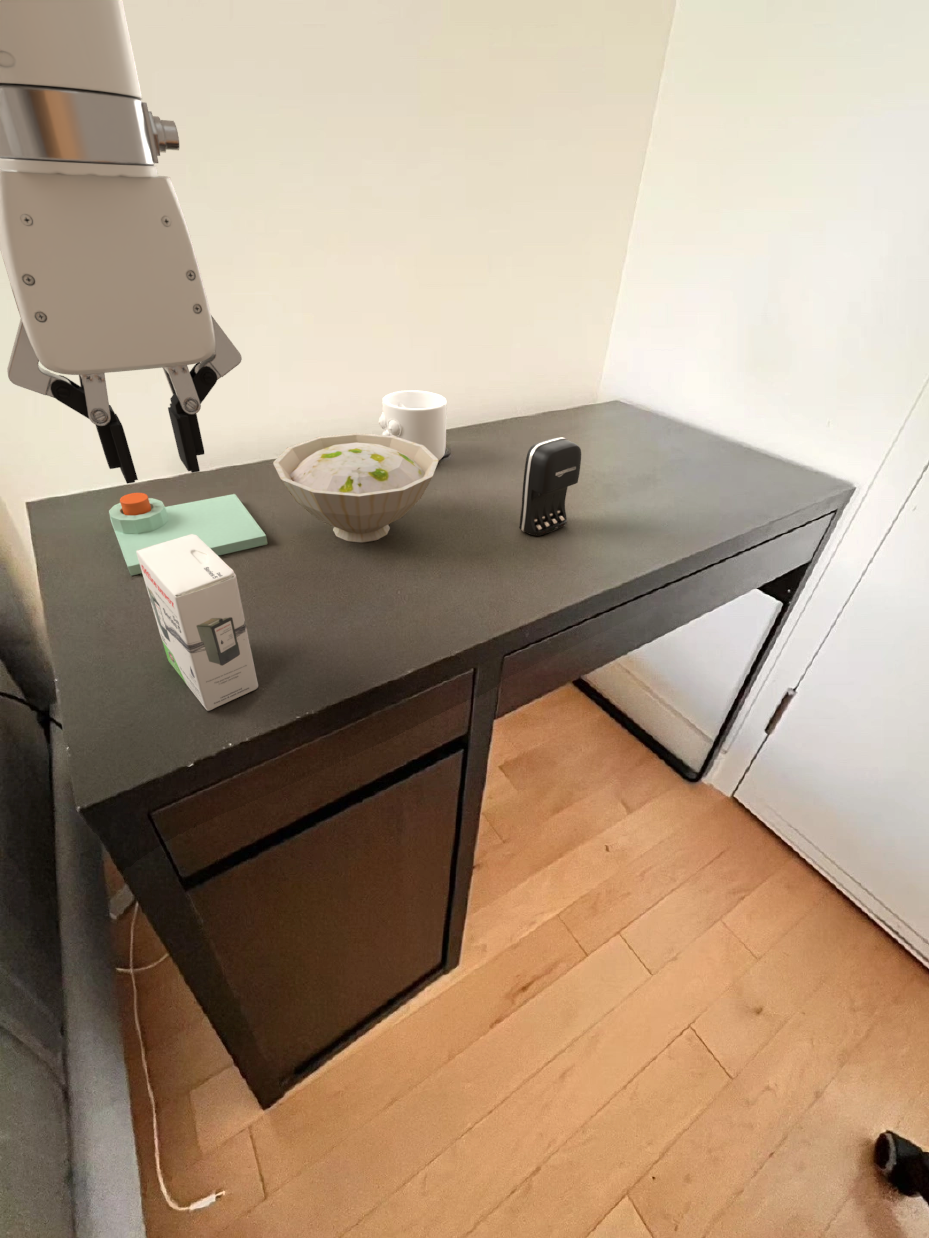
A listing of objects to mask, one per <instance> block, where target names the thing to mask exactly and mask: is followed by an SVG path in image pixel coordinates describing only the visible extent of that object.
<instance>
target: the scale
mask: <svg viewBox="0 0 929 1238" xmlns="http://www.w3.org/2000/svg"><path fill="white" fill-rule="evenodd" d="M148 499H149V502H150V506H151V511H150V512H147V513H145V514H141V515H135V516H134V515H125V514H124V513H123V509H122V506H121V503H120V502H119V503H117V504H114V505H113V506H112V507H111V508H110V509H109V510H108V515H109V519H110V522H111V525H112V528H113V531H114V534H115V536H116V539H117V542H118V546H119V548H120V551H121V553H122V557H123V559H124V560H125V564H126V567H127V570H128V573H129V575H130V576H131V577H132V576H137V575H141V574H142V570H141V567H140V564H139V560H138V557H137V553H136V551H137V550H139V549H143V548H146V547H149V546H152V545H156V544H159V543H163V542H166V541H170V540H173V539H177V538H180V537H183V536H187V535H190V534H193V535H197V536H198V537H199V538H200V539H201V540H202V541H203V542H204V543H205V544H206V545H207V546H208V547H209V548H210V549H212V551H214V552H215V553H216V554H217V555H218V556H219V557H220V556H222V555H227V554H231V553H236V552H240V551H244V550H249V549H253V548H258V547H261V546H266V545H268V538H267V535H266V534H265V532H264V531H263V529H262V528H261V527H260V525H259V524H258V523H257V521H256V520H255V518H254V517H253V516H252V515H251V513H250V512H249V511H248V509H247V507H246V506H245V505H244V504H243V503H242V501H241V500H240V499H239V497H238V496H237V494H236V493H233V494H226V495H222V496H216V497H211V498H206V499H201V500H200V499H199V500H195V501H188V502H185V503H178V504H174V505H168V506H165V504H164V502H163V501H162V500H159V499H157V498H154V497H153V498H152V497H148Z"/></svg>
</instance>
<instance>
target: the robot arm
mask: <svg viewBox="0 0 929 1238" xmlns="http://www.w3.org/2000/svg"><path fill="white" fill-rule="evenodd" d="M142 100H143V95H142V90H141V84H140V80H139V74H138V68H137V64H136V59H135V55H134V48H133V44H132V40H131V34H130V30H129V24H128V20H127V15H126V10H125V5H124V0H0V253H1V257H2V260H3V263H4V268H5V270H6V274H7V277H8V281H9V285H10V288H11V291H12V295H13V299H14V301H15V305H16V308H17V311H18V314H19V317H20V320H19V324H18V328H17V330H16V335H15V338H14V342H13V347H12V350H11V354H10V356H9V357H10V358H9V360H8V364H7V371H6V372H7V377H8V380H9V381H10V382H11V383H12V384H13V385H15V386H17V387H20V388H23V389H25V390H29V391H32V392H35V393H37V394H40V395H43V396H47V397H50V398H54V399H56V400H57V401H58V402H60V403H61V404H63V405H65V406H66V407H68V408H70V409H72V410H73V411H75V412H76V413H78V414H80V415H82V416H83V417H85V418H86V419H88V420H89V421H90V422H91V423H92V424H93V425H95V428H96V432H97V435H98V437H99V441H100V444H101V447H102V451H103V453H104V457H105V460H106V463H107V465H108V468H109V470H113V469H120V472H121V473H122V477H123V478H124V481H125V482H126V484H127V485H128V484H133V483H136V481H138V480H139V479H138V475H137V472H136V468H135V465H134V461H133V458H132V454H131V450H130V446H129V443H128V440H127V437H126V433H125V430H124V427H123V424H122V422H121V420H120V418H119V416H118V415H117V413H115V411H114V409H113V407H112V405H110V403H109V402H110V401H109V395H108V388H107V381H106V375H105V374H106V373H107V374H109V373H117V372H118V373H121V372H130V371H140V370H141V371H142V370H151V369H162V370H163V373H164V375H165V378H166V381H167V384H168V386H169V389H170V391H171V394H172V396H171V397H170V398H169V400H170V403H169V407H167V411H168V415H169V419H170V424H171V428H172V431H173V436H174V440H175V445H176V449H177V453H178V457H179V460H180V461H181V463H182V464H183V465H184V467H185V469H186V470H187V472H190V473H192V474H193V473H200V470H201V469H200V464H199V461H198V456H204V455H205V447H204V443H203V438H202V434H201V428H200V424H199V419H198V413H199V412H200V410H201V408H202V405H201V404H202V403H203V402H204V400H205V399H206V397H208V395H209V393H210V392H211V390H212V389H213V388H214V387H215V385H216V384H217V382H218V381H219V380H220V379H221V378H223V377H224V376H226V375H227V374H229V373H230V372H231V371H233V370H234V369H235V368H237V366H239V365H240V364H241V363H242V360H243V359H242V358H243V357H242V354H241V353H240V351H239V350H238V349H237V347H236V346H235V345H234V343H233V342H232V341H231V340H230V338H229V337H228V335H227V334H226V333H225V331H224V330H223V328H221V326H220V325H219V323H218V321H216V319H215V318H214V317H213V316H212V313H211V309H210V305H209V300H208V297H207V296H208V295H207V292H206V288H205V284H204V281H203V277H202V273H201V270H200V266H199V262H198V258H197V255H196V250H195V247H194V244H193V240H192V235H191V233H190V230H189V227H188V224H187V220H186V216H185V214H184V211H183V208H182V205H181V202H180V199H179V197H178V194H177V191H176V189H175V186H174V183H173V181H172V179H171V177H170V176H165V175H159V173H158V168H157V165H155V164H159V158H158V157H160V156H161V153H167V151H180V138H179V132H178V127H177V125H176V122H175V121H174V120H168V119H161V117H160V116H157V115H153V112H152V111H149V107H148V104H147V102H146V101H145V102H143V101H142ZM39 363H40V364H41V365H42V366H43V367H44V368H45V369H44V368H42V367H41V366H40V365H39ZM190 365H193V367H191V369H189V366H190ZM46 369H47V370H46ZM50 371H51V372H50ZM56 373H57V374H56ZM61 374H62V375H61ZM64 375H68V376H69V375H70V376H78V380H79V384H78V383H76V382H74V381H73V380H71V379H70V378H68V377H67V376H64Z"/></svg>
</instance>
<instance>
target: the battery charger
mask: <svg viewBox="0 0 929 1238" xmlns="http://www.w3.org/2000/svg"><path fill="white" fill-rule="evenodd" d="M581 464H582V450H581V447H580V446H579V444H577V443H575V442H573V441H571V440H569V439H568V438H565V437H560V436H559V437H553V438H549V439H545V440H542V441H540V442H539V441H538V442H536V443H534V444H532V446H530V448H529V449H528V451H527V454H526V457H525V464H524V470H523V471H524V472H523V482H522V492H521V494H522V495H521V508H520V509H521V510H520V517H519V525H518V526H519V527H518V528H519V530H521V532H523V533H527V534H529V535H532V536H534V537H538V536H539V537H540V536H543V535H547V534H548V533H551V532H554V531H556V530H558V529H561V528H563V527H565V526H566V525H567V522H568V520H567V519H568V518H567V513H566V512H567V511H566V497H567V493H568V487H570V486H574V485H576V484H578V483H579V477H580V473H581Z"/></svg>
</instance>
